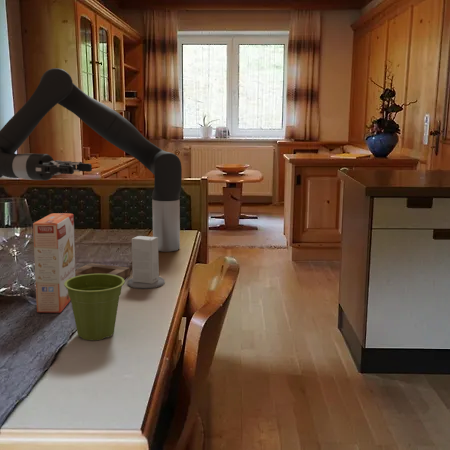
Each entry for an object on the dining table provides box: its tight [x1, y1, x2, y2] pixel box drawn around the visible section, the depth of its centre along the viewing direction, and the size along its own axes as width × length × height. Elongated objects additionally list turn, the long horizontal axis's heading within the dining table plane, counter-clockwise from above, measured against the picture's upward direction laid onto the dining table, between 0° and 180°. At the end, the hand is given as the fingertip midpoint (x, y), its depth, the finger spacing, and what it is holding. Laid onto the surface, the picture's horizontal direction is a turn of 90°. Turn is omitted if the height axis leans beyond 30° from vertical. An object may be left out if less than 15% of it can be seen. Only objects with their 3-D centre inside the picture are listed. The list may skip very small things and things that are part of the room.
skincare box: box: [131, 235, 160, 284], centre depth 141 cm, size 6×4×12 cm
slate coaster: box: [126, 276, 166, 290], centre depth 142 cm, size 10×10×1 cm
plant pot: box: [64, 274, 126, 341], centre depth 107 cm, size 12×12×11 cm
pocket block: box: [75, 262, 131, 280], centre depth 145 cm, size 13×13×2 cm
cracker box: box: [32, 212, 76, 314], centre depth 124 cm, size 14×6×21 cm, turn 2°
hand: (82, 168), depth 145 cm, fingers open, 8 cm apart
